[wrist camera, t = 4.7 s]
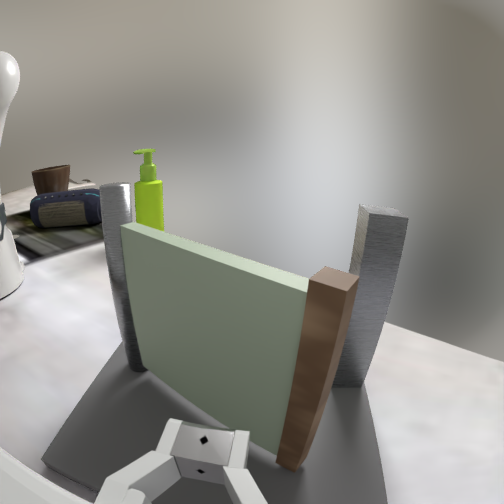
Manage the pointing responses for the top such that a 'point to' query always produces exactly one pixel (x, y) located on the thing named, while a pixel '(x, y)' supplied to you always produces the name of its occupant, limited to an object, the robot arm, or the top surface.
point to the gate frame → (177, 407)
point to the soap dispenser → (149, 194)
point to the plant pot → (51, 179)
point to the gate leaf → (239, 335)
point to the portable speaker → (66, 208)
